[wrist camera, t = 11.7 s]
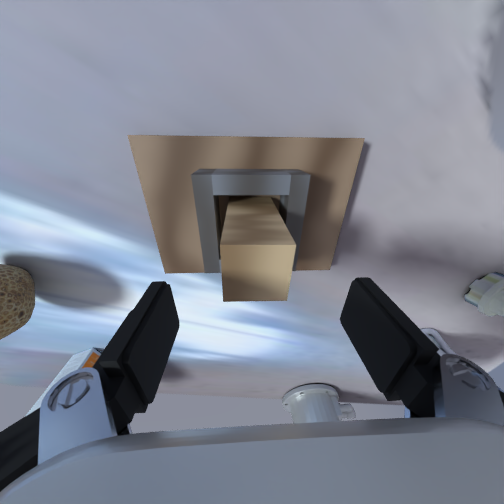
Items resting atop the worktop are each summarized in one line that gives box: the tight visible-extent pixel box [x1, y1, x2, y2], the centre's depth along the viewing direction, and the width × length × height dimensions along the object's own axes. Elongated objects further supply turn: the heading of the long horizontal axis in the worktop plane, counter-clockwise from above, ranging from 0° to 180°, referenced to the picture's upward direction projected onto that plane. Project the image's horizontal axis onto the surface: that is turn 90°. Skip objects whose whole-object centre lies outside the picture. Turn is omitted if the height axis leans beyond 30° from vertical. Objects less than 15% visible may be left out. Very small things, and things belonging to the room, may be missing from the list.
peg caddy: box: [128, 135, 365, 273], centre depth 19 cm, size 20×14×5 cm
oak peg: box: [220, 196, 296, 302], centre depth 15 cm, size 4×4×10 cm
